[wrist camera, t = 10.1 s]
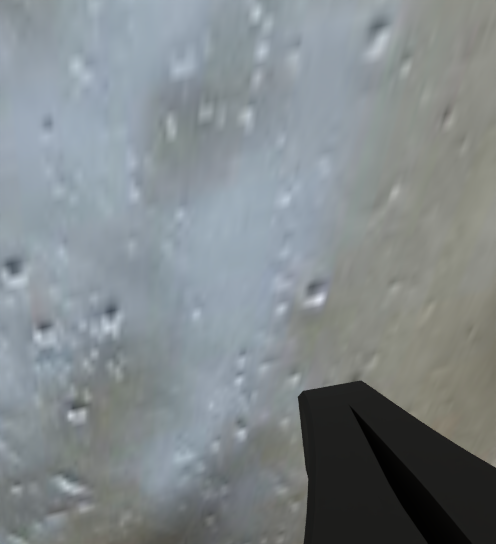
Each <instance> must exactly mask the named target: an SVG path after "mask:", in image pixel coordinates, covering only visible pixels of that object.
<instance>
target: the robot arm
mask: <svg viewBox="0 0 496 544" xmlns="http://www.w3.org/2000/svg"><path fill="white" fill-rule="evenodd" d="M298 402H299V411H300V420H301V429H302V438H303V447H304V457H305V466H306V471H307V475H308V498H307V515H306V526H305V536H304V544H496V468H495V467H494V466H492V465H490V464H488V463H487V462H485V461H483V460H481V459H480V458H478V457H476V456H475V455H473V454H471V453H470V452H468V451H466V450H465V449H463V448H462V447H460V446H458V445H457V444H455V443H453V442H452V441H450V440H449V439H447V438H446V437H444V436H442V435H441V434H439V433H438V432H436V431H435V430H433V429H432V428H430V427H429V426H427V425H425V424H424V423H422V422H421V421H419V420H418V419H416V418H415V417H414V416H412V415H411V414H409V413H408V412H406V411H405V410H403V409H402V408H400V407H399V406H397V405H396V404H395V403H393V402H392V401H390V400H389V399H387V398H386V397H385V396H383V395H382V394H380V393H379V392H377V391H376V390H374V389H373V388H372V387H370V386H369V385H367V384H366V383H364V382H363V381H356V382H350V383H345V384H339V385H334V386H328V387H323V388H317V389H312V390H306V391H303V392H302V393H301V394H300V395H299V396H298Z"/></svg>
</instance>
